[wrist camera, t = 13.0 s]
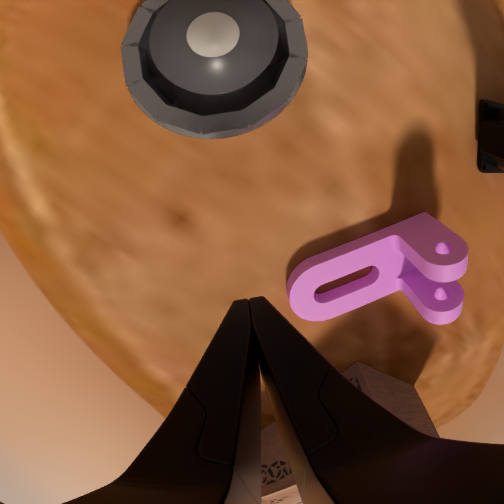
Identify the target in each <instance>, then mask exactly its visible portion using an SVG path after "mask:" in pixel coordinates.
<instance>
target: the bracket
mask: <svg viewBox="0 0 504 504" xmlns="http://www.w3.org/2000/svg"><path fill="white" fill-rule="evenodd" d="M467 263H468V245H467V243H466V242H465V241H464V240H463V239H462V238H461V237H460V236H458V235H457V234H456V233H454V232H453V231H452V230H450V229H449V228H448V227H446V226H445V225H443V224H442V223H441V222H439V221H438V220H437V219H435V218H434V217H432V216H431V215H429V214H428V213H427V212H423V213H420V214H418V215H416V216H413V217H411V218H408V219H406V220H403V221H401V222H398V223H396V224H393V225H391V226H388V227H386V228H383V229H381V230H378V231H376V232H373V233H371V234H368V235H366V236H363V237H361V238H358V239H356V240H353V241H350V242H348V243H345V244H343V245H340V246H338V247H335V248H332V249H330V250H327V251H325V252H322V253H319V254H317V255H314V256H312V257H309V258H307V259H305V260H304V261H302V262H301V263H300V264H298V265H297V266H296V267H295V269H294V270H293V271H292V273H291V274H290V276H289V278H288V281H287V286H286V290H287V296H288V299H289V302H290V305H291V308H292V310H293V311H294V312H295V313H296V314H297V315H298V316H299V317H301V318H303V319H305V320H309V321H324V320H328V319H331V318H334V317H336V316H339V315H341V314H344V313H346V312H349V311H351V310H354V309H356V308H359V307H361V306H363V305H366V304H368V303H370V302H373V301H375V300H377V299H380V298H382V297H384V296H387V295H389V294H391V293H393V292H396V291H402V292H404V294H405V295H406V296H407V297H408V299H409V300H410V301H411V303H412V304H413V305H414V306H415V308H416V309H417V310H418V312H419V313H420V314H421V316H422V317H423V318H424V319H425V320H426V321H428V322H430V323H433V324H438V325H443V324H448V323H451V322H453V321H454V320H456V319H457V318H458V317H459V315H460V313H461V311H462V305H463V298H464V291H463V289H462V287H461V285H460V284H459V283H458V282H457V281H456V280H457V279H459V278H460V277H462V276H463V275H464V274H465V272H466V270H467ZM368 266H373V267H372V270H371V272H370V273H369V274H368V275H366V276H364V277H362V278H359V279H357V280H354V281H352V282H350V283H347V284H345V285H342V286H339V287H337V288H334V289H332V290H329V291H327V292H324V293H321V294H316V293H314V292H315V290H316V289H317V288H318V287H319V286H321V285H323V284H325V283H328V282H330V281H333V280H336V279H338V278H341V277H343V276H346V275H348V274H351V273H353V272H356V271H358V270H361V269H363V268H365V267H368Z"/></svg>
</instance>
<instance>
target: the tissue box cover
mask: <svg viewBox="0 0 504 504" xmlns="http://www.w3.org/2000/svg"><path fill="white" fill-rule="evenodd" d="M342 374H343V375H344V376H345V377H346V378H347V379H348V380H349V381H350V382H351V383H353V384H354V385H355V386H356V387H357V388H358V389H360V390H361V391H362V392H364V393H365V394H366V395H368V396H369V397H370V398H371V399H373V400H374V401H376V402H377V403H378V404H380V405H381V406H383V407H384V408H385V409H387V410H388V411H390V412H391V413H393V414H394V415H395V416H397V417H398V418H400V419H401V420H403V421H404V422H406V423H407V424H408V425H410V426H412V427H413V428H415V429H416V430H418V431H420V432H422V433H425V434H427V435H430V436H434V437H438V438H440V437H439V435H438V433H437V431H436V428H435V426H434V424H433V422H432V420H431V418H430V416H429V414H428V412H427V410H426V408H425V406H424V404H423V403H422V401H421V399H420V397H419V395H418V393H417V391H416V389H415V387H414V386H413V385H410V384H408V383H406V382H403V381H401V380H399V379H397V378H394V377H392V376H390V375H387V374H385V373H383V372H381V371H378V370H376V369H374V368H372V367H370V366H367V365H365V364H363V363H361V362H359V361H356V362H355V363H354V364H353V365H352V366H350V367H349V368H348V369H347V370H345V371H344V372H343V373H342ZM261 501H262V504H303V502H302V500H301V497H300V494H299V491H298V488H297V485H296V482H295V479H294V476H293V473H292V470H291V467H290V464H289V461H288V458H287V455H286V452H285V449H284V446H283V443H282V440H281V436H280V433H279V430H278V427H277V424H276V421H275V422H273V423H272V424H270V425H269V426H267V427H265V428H264V429H262V430H261Z"/></svg>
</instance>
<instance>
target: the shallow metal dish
mask: <svg viewBox="0 0 504 504" xmlns="http://www.w3.org/2000/svg"><path fill="white" fill-rule="evenodd" d="M169 1H170V0H146V1H145V2H143V3H142V4H141V5H142V6H143V7H138V9H137V11H136V13H135V15H134V17H133V19H132V21H131V24H130V26H129V28H128V30H127V32H126V34H125V37H124V39H123V41H122V43H121V44H122V45H124V46H122V47H121V54H122V61H123V72H124V77H125V82H126V86H127V87H128V90H129V92H130V94H131V96H132V98H133V99H134V101H135V103H136V104H137V105H138V106H139V108H140V109H141V110H142V111H143V112H144V113H145V114H146V115H147V116H148V117H149V118H150V119H152V120H153V121H154V122H156V123H157V124H158V125H160V126H162V127H164V128H166V129H168V130H170V131H172V132H175V133H177V134H180V135H184V136H188V137H193V138H201V139H219V138H228V137H233V136H237V135H241V134H244V133H247V132H250V131H252V130H254V129H256V128H258V127H260V126H262V125H264V124H265V123H267V122H269V121H270V120H272V119H273V118H274V117H275V116H277V115H278V114H279V113H280V112H281V111H282V110H283V109H284V108H285V107H286V106H287V105H288V104H289V103H290V101H291V100H292V99H293V97H294V96H295V95H296V93H297V91H298V89H299V87H300V86H301V83H302V81H303V78H304V75H305V71H306V67H307V61H308V60H307V58H308V50H307V41H306V37H305V33H304V27H303V21H302V19H299V17H300V15H299V13H298V12H297V11H296V10H295V9H294V8H293V6H292V5H291V4H290V3H289V2H288V1H287V0H262V1H264V2H265V3H266V5H267V6H268V7H269V8H270V10H271V12H272V13H273V15H274V17H275V20H276V23H277V27H278V44H277V48H276V51H275V54H274V56H273V58H272V60H271V62H270V63H269V65H268V66H267V67H266V69H265V70H264V71H263V72H262V73H261V74H260V75H259V76H258V77H257V78H255V79H254V80H253V81H252V82H251V83H250V84H248V85H247V86H246V87H244V88H242V89H241V90H238V91H236V92H234V93H231V94H227V95H223V96H204V95H200V94H196V93H193V92H191V91H188V90H186V89H183V88H181V87H179V86H177V85H175V84H173V83H172V82H171V81H169V80H168V79H167V78H166V77H165V76H163V75H162V74H161V72H160V71H159V70H158V69H157V67H156V65H155V63H154V61H153V59H152V56H151V52H150V46H149V38H150V32H151V28H152V25H153V22H154V20H155V18H156V17H157V15H158V13H159V12H160V11H161V9H162V8H163V7H164V6H165V5H166V4H167V3H168V2H169Z"/></svg>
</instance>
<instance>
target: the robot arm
mask: <svg viewBox="0 0 504 504" xmlns="http://www.w3.org/2000/svg"><path fill="white" fill-rule="evenodd" d="M484 105H485V106H484ZM479 107H480V138H479V159H478V170H479V171H480V172H483V173H504V104H500V103H496V102H492V101H488V100H483V99H482V100H480V103H479ZM259 366H260V367H259ZM260 371H261V375H262V379H263V382H264V385H265V389H266V392H267V395H268V398H269V402H270V405H271V408H272V411H273V414H274V418H275V421H276V424H277V427H278V430H279V433H280V436H281V440H282V443H283V446H284V449H285V452H286V455H287V458H288V461H289V464H290V467H291V470H292V473H293V476H294V479H295V482H296V485H297V488H298V491H299V494H300V497H301V500H302V502H303V504H504V444H489V443H477V442H467V441H458V440H450V439H444V438H438V437H434V436H430V435H427V434H425V433H422V432H420V431H418V430H416V429H415V428H413V427H412V426H410V425H408V424H407V423H406V422H404V421H403V420H401V419H400V418H398V417H397V416H395V415H394V414H393V413H391V412H390V411H388V410H387V409H385V408H384V407H383V406H381V405H380V404H378V403H377V402H376V401H374V400H373V399H371V398H370V397H369V396H368V395H366V394H365V393H364V392H362V391H361V390H360V389H358V388H357V387H356V386H355V385H354V384H353V383H351V382H350V381H349V380H348V379H347V378H346V377H345V376H344V375H343V374H342V373H341V372H340V371H339V370H337V369H336V368H335V367H334V366H332V364H331V363H330V362H329V361H328V360H327V359H326V358H325V357H324V356H323V355H322V354H321V353H320V352H319V351H318V350H317V349H316V348H315V347H314V346H313V345H312V344H311V343H310V342H309V341H308V340H307V339H306V338H305V337H304V336H303V335H302V334H301V333H300V332H299V331H298V330H297V329H296V328H295V327H294V326H293V325H292V324H291V323H290V322H289V321H288V320H287V319H286V318H285V317H284V316H283V315H282V314H281V313H280V312H279V311H278V310H277V309H276V308H275V307H274V306H273V305H272V304H271V303H270V302H269V301H268V300H267V299H266V298H265V297H263V296H259V297H253V298H250V299H249V300H248V299H240V300H235V301H233V303H232V305H231V306H230V308H229V310H228V312H227V314H226V315H225V317H224V319H223V321H222V323H221V324H220V326H219V328H218V330H217V332H216V333H215V335H214V337H213V339H212V340H211V342H210V344H209V346H208V348H207V349H206V351H205V353H204V355H203V356H202V358H201V360H200V362H199V364H198V365H197V367H196V369H195V371H194V372H193V374H192V376H191V378H190V380H189V381H188V383H187V385H186V387H187V388H184V390H183V392H182V393H181V395H180V397H179V399H178V400H177V402H176V404H175V405H174V407H173V409H172V410H171V412H170V413H169V415H168V416H167V418H166V419H165V421H164V422H163V423H162V425H161V426H160V427H159V429H158V430H157V432H156V433H155V434H154V436H153V437H152V438H151V439H150V441H149V442H148V443H147V445H146V446H145V447H144V448H143V450H142V451H141V452H140V454H139V455H138V456H137V457H136V459H135V460H134V461H133V462H132V464H131V465H130V466H129V467H128V469H127V470H126V471H125V472H124V473H123V474H122V475H121V476H120V477H118V478H117V479H116V480H114V481H113V482H111V483H110V484H108V485H106V486H104V487H102V488H99V489H97V490H95V491H93V492H90V493H88V494H85V495H83V496H81V497H78V498H76V499H73V500H70V501H68V502H65V503H62V504H262V501H261V383H260ZM0 504H4V503H2V502H0Z"/></svg>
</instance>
